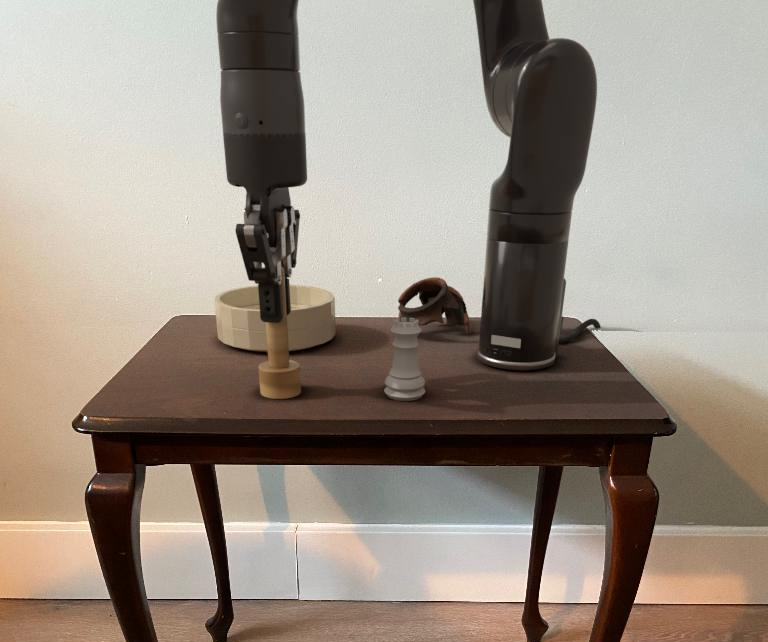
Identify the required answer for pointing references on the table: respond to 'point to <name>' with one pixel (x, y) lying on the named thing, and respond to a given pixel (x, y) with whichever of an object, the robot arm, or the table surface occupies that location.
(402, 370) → the rook chess piece
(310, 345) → the bowl
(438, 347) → the table surface
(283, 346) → the muddler
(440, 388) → the table surface
